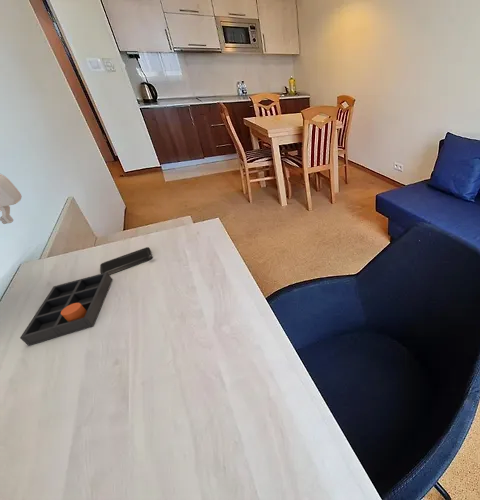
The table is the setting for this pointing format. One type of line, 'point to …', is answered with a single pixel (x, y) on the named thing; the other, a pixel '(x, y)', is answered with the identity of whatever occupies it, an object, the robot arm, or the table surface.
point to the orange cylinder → (73, 312)
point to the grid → (49, 314)
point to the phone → (126, 261)
